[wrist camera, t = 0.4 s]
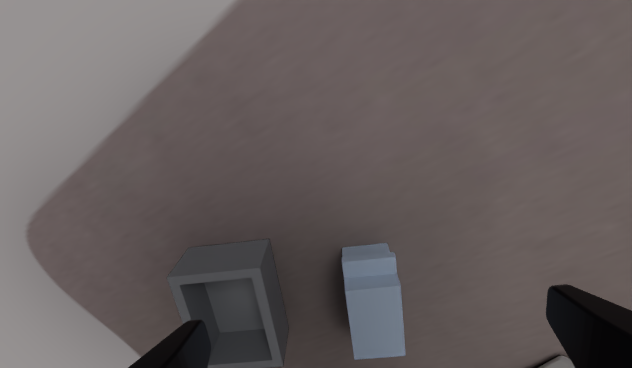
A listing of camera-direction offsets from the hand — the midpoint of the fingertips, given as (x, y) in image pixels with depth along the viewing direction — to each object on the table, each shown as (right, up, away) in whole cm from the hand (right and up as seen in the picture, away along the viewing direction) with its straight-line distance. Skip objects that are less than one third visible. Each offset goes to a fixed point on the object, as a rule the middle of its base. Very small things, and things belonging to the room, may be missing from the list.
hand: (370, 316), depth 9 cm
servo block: (+2, -3, +14) cm, 15 cm away
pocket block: (-7, -4, +15) cm, 17 cm away
